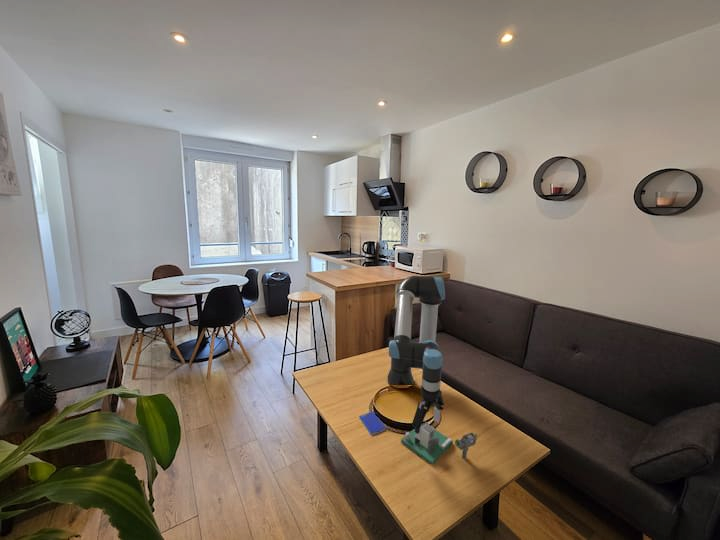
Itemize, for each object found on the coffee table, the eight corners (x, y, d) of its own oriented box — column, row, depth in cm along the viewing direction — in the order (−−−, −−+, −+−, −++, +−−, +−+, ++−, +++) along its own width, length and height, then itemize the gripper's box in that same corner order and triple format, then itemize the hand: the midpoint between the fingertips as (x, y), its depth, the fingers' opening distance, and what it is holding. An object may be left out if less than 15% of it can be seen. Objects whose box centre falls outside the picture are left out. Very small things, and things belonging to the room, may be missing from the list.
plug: (425, 438, 133) (426, 422, 131) (434, 444, 130) (435, 428, 128) (419, 443, 130) (420, 427, 128) (428, 450, 127) (430, 433, 125)
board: (422, 424, 144) (422, 416, 143) (452, 443, 133) (453, 435, 131) (401, 442, 133) (401, 433, 132) (432, 465, 122) (432, 456, 121)
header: (424, 435, 135) (424, 427, 134) (438, 444, 130) (439, 437, 129) (414, 443, 131) (415, 435, 130) (429, 453, 125) (429, 445, 124)
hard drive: (359, 415, 147) (370, 433, 136) (373, 411, 151) (386, 427, 140) (359, 418, 148) (370, 436, 137) (373, 413, 151) (386, 430, 140)
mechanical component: (451, 458, 125) (454, 438, 123) (471, 451, 129) (473, 431, 126) (456, 464, 122) (459, 444, 120) (476, 456, 126) (478, 436, 124)
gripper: (439, 370, 135) (436, 410, 140) (404, 395, 118) (402, 440, 124) (454, 378, 129) (450, 419, 135) (420, 405, 113) (417, 451, 118)
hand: (427, 429), depth 129 cm, fingers open, 13 cm apart
